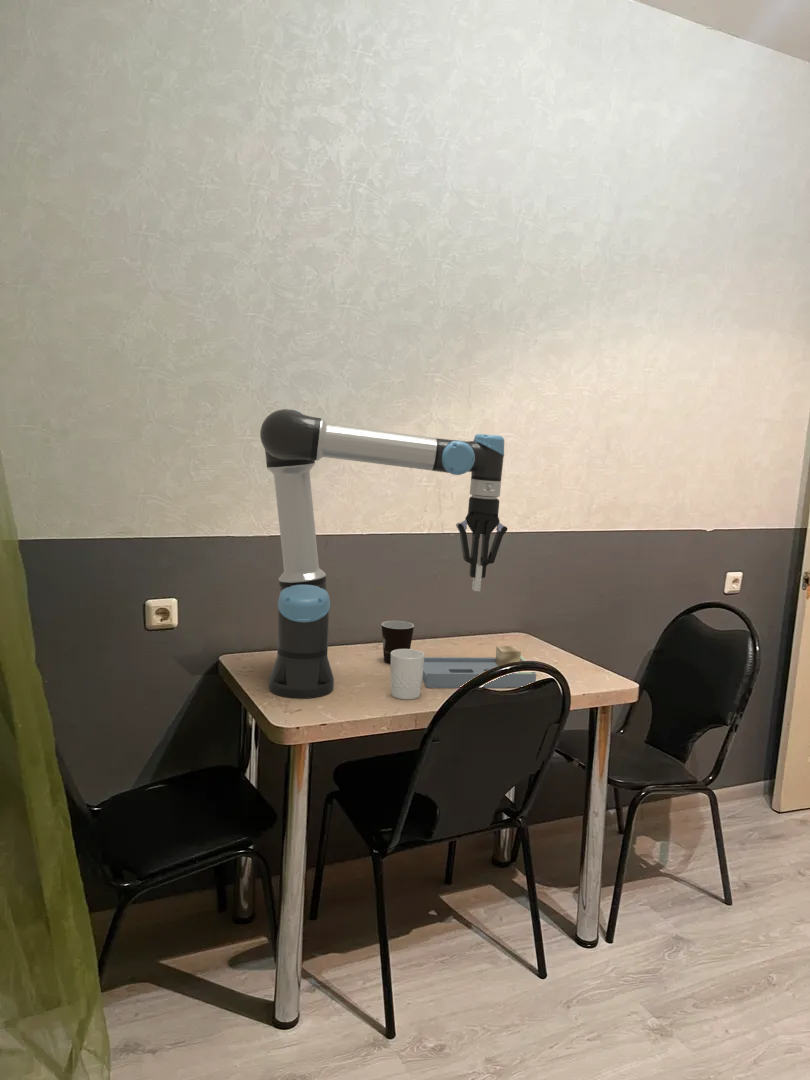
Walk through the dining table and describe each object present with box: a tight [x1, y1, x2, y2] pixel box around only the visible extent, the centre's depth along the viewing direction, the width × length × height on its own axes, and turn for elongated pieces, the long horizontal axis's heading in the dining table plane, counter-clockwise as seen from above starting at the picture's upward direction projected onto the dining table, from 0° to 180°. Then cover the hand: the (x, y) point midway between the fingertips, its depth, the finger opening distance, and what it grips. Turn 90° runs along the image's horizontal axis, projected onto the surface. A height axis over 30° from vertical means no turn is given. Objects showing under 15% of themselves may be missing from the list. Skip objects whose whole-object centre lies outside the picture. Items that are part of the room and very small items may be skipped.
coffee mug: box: [381, 620, 415, 665], centre depth 215 cm, size 12×9×10 cm
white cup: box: [390, 648, 426, 700], centre depth 188 cm, size 8×8×10 cm
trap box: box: [422, 654, 537, 689], centre depth 203 cm, size 27×14×4 cm, turn 99°
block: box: [495, 645, 522, 666], centre depth 207 cm, size 5×5×4 cm
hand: (476, 590), depth 204 cm, fingers closed
